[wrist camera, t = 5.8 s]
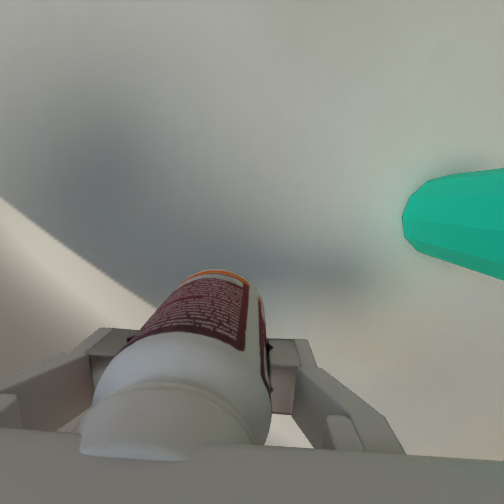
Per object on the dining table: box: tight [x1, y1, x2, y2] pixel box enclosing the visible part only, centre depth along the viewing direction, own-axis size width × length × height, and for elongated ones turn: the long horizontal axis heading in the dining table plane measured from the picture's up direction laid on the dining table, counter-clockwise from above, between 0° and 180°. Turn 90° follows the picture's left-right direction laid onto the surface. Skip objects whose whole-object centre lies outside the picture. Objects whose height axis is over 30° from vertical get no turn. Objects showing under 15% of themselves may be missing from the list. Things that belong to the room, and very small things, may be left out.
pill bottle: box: [72, 269, 272, 461], centre depth 8 cm, size 5×5×8 cm
